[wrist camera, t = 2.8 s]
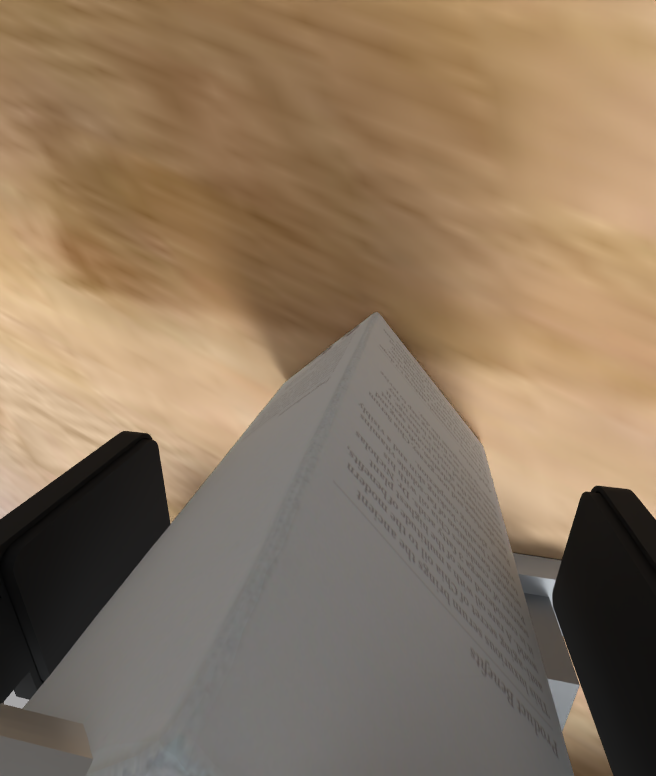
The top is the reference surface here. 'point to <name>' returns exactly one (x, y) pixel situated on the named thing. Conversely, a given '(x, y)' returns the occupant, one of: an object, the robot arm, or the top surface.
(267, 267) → the top surface
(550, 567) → the grey square tray
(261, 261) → the top surface
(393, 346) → the skincare box
